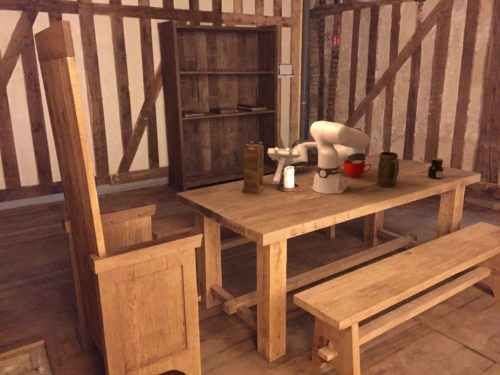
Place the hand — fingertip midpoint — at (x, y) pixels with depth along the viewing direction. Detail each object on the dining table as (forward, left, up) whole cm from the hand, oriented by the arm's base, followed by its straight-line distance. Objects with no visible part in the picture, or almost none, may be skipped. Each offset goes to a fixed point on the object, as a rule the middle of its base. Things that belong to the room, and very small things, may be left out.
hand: (281, 148), depth 271 cm
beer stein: (-22, +61, -19) cm, 68 cm away
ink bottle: (-61, +78, -19) cm, 101 cm away
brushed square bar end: (+3, +1, -13) cm, 14 cm away
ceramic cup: (-32, +37, -19) cm, 53 cm away
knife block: (+32, +1, -19) cm, 37 cm away
